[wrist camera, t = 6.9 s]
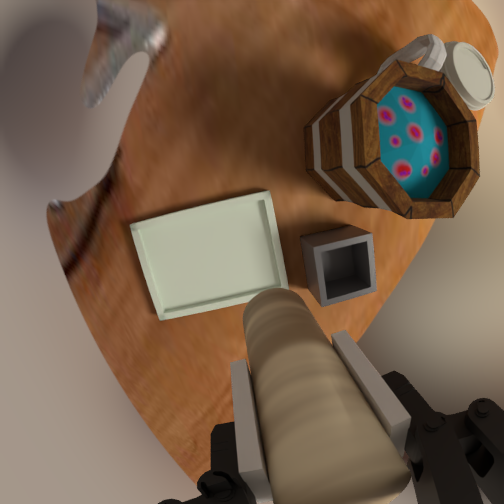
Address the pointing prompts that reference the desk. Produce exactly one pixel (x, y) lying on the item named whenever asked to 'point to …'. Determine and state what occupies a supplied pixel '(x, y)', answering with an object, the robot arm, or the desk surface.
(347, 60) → the desk surface
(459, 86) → the coffee cup
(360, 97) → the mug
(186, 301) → the tray
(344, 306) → the desk surface
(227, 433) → the robot arm
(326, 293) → the pen cup
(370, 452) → the dowel
